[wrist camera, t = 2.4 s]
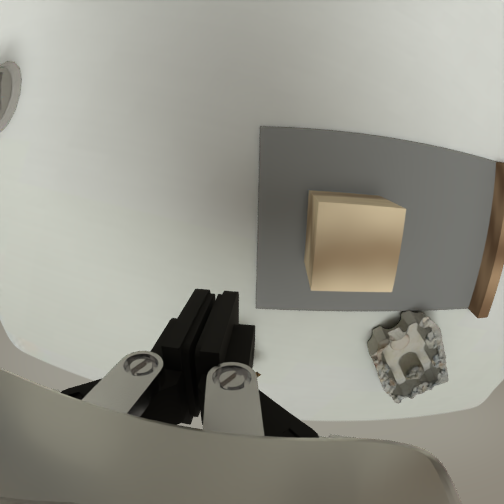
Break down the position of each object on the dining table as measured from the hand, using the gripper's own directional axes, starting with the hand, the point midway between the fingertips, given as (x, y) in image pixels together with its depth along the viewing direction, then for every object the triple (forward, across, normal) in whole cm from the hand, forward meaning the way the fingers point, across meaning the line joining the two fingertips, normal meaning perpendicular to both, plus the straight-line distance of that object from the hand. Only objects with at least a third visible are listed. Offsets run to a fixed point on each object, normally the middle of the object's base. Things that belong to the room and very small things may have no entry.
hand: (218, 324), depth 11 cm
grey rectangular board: (+15, -12, -1) cm, 19 cm away
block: (+14, -8, -1) cm, 16 cm away
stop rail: (+15, -25, -1) cm, 29 cm away
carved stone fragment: (+15, -17, +12) cm, 26 cm away
